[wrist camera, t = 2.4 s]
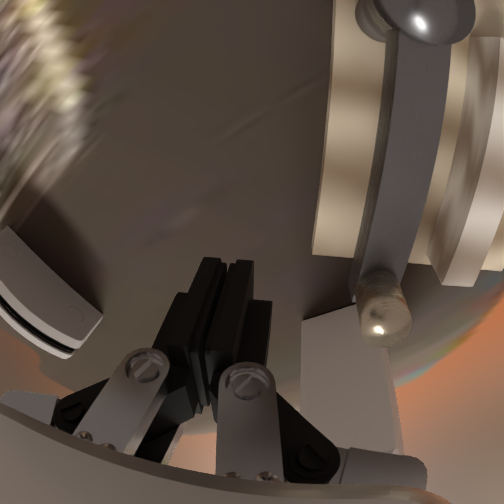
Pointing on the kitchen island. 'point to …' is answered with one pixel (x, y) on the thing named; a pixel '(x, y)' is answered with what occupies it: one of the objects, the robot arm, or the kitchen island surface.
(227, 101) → the kitchen island surface
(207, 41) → the kitchen island surface
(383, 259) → the swing bar
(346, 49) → the base
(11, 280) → the grey curved block
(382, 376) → the milk carton
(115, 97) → the kitchen island surface
